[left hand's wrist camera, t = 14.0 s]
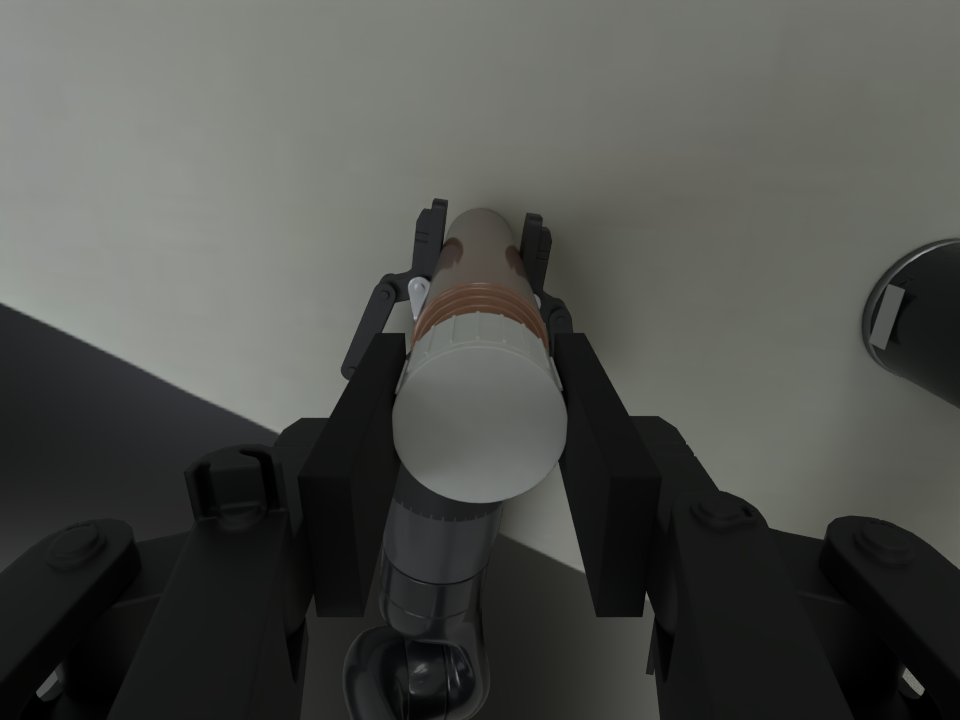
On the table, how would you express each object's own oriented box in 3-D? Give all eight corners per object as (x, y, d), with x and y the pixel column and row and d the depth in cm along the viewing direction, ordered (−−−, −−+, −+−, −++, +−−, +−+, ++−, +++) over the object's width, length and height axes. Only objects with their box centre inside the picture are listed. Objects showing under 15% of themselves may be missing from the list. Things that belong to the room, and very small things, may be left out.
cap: (542, 457, 15) (553, 514, 13) (397, 441, 15) (382, 496, 13) (569, 320, 14) (587, 356, 11) (409, 301, 14) (394, 333, 11)
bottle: (507, 279, 36) (553, 508, 13) (442, 270, 35) (380, 488, 13) (518, 213, 34) (590, 346, 12) (450, 203, 34) (394, 321, 12)
